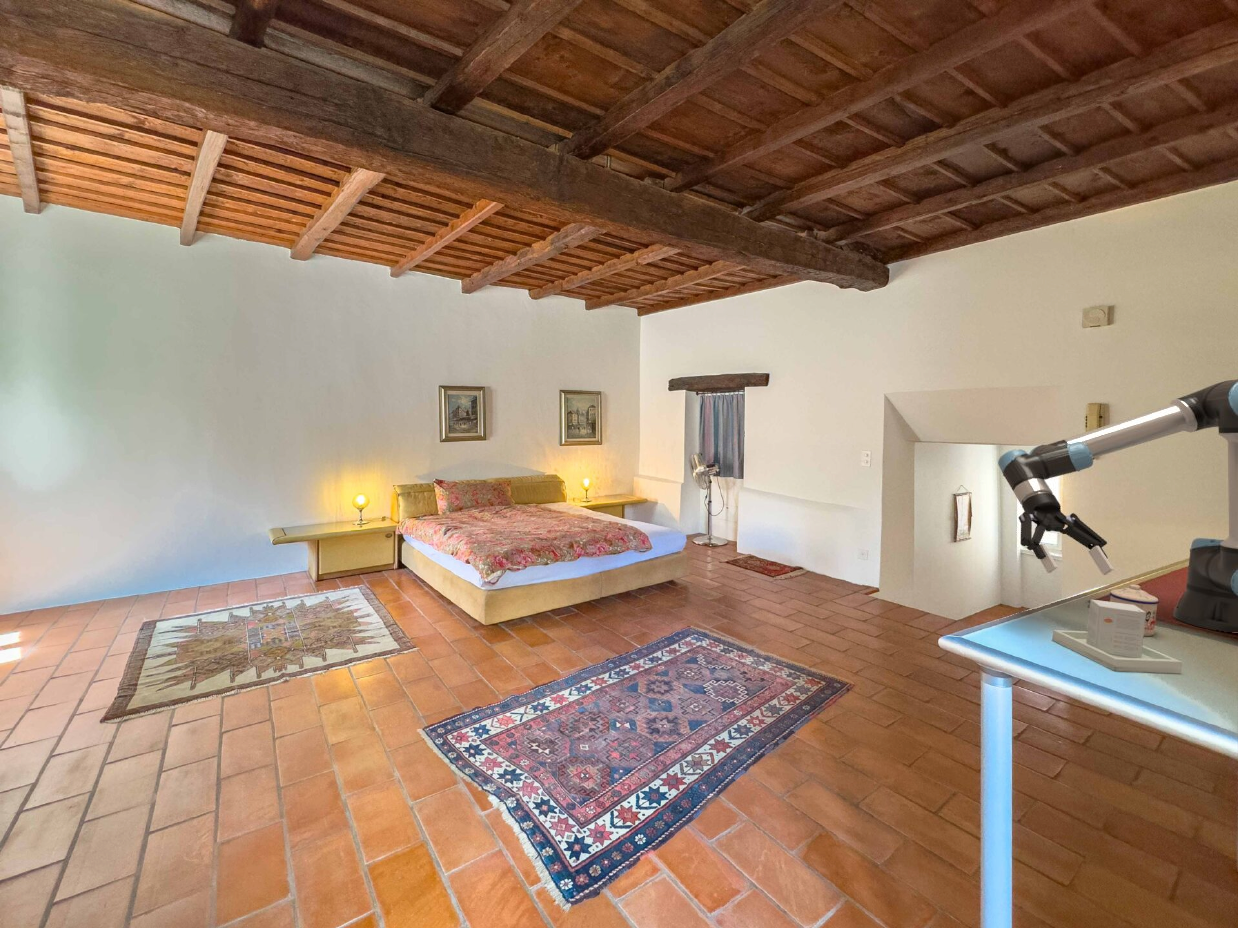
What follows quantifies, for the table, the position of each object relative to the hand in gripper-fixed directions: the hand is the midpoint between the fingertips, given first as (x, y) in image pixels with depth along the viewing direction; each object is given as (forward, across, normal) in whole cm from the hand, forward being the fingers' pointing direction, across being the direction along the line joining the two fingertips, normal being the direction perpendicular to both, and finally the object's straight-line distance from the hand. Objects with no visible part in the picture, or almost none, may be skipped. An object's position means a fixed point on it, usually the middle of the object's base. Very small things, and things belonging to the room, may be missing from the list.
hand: (1080, 571), depth 130 cm
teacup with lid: (+6, -22, -17) cm, 29 cm away
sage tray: (+19, 0, -4) cm, 19 cm away
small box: (+18, 0, -4) cm, 19 cm away
